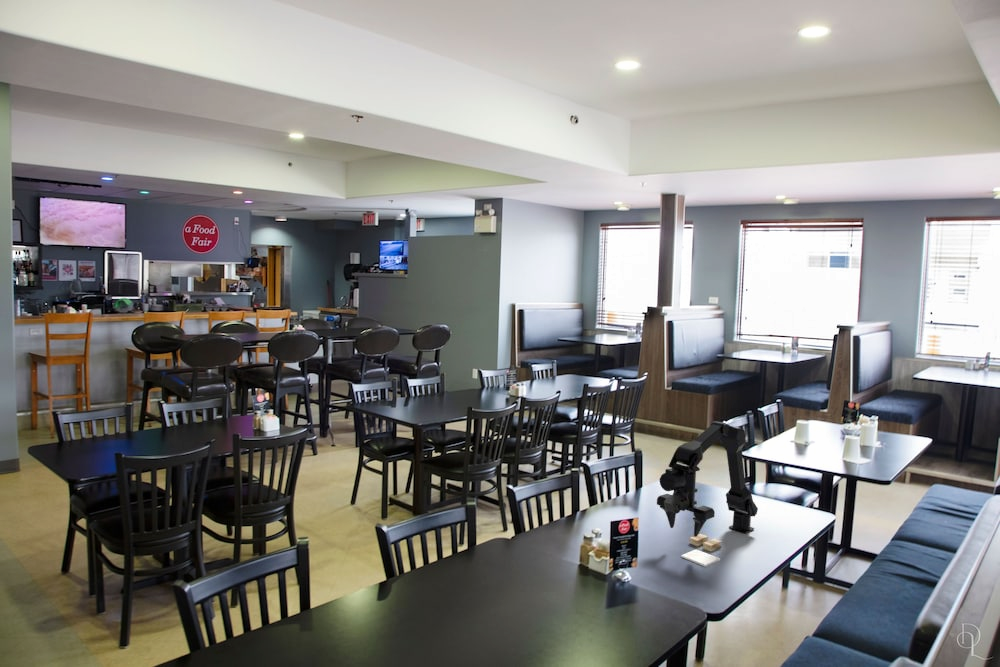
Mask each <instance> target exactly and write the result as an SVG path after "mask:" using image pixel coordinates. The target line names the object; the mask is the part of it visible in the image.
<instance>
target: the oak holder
mask: <svg viewBox="0 0 1000 667" xmlns="http://www.w3.org/2000/svg"><path fill="white" fill-rule="evenodd" d="M708 538H709V536H708V535H705V534H702V533H699V534H698V536H697V537H694V535H693V536H691V537H689V544H690V545H693V546H695V547H699V546H701V545H702V549H703V550H706V551H709V552H713V551H716V550H718V549H720V548H721V547H722V540H719V539H716V538H711V539H709V540H708Z"/></svg>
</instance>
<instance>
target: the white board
mask: <svg viewBox="0 0 1000 667" xmlns="http://www.w3.org/2000/svg"><path fill="white" fill-rule="evenodd" d="M680 558H683V559H685V560H688V561H689V562H692V563H695V564H697V565H700V566H703V567H704V568H706V567H708V566H711V565H713V564H715V563H718V562H720V561H721V558H719V557H718V556H715V555H712V554H709V553H707V552H704V551H701V550H699V549H693V550H691V551H689V552H685V553H684V554H681V555H680Z"/></svg>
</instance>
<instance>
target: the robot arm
mask: <svg viewBox="0 0 1000 667" xmlns="http://www.w3.org/2000/svg"><path fill="white" fill-rule="evenodd" d="M746 436H747V435H746V432H745V429H743V428H742V427H740V426H739V427H738V426H733V425H729V424H727V423H725V422H721V421H717V420H716V421H712V422H711V423H710V425H709V427H707V428H706V429H705V430H704V431H703V432H701V434H700V435H699V434H698V436H697V437H696V438H695V439H693V440H692V441H689V442H688V441H687V442H685V443H682V444H681V445H678V447H677V448H676V450H675V451H674V453H673V456H672V458H671V460H670V462H669V463H668V468H665V472H664V473H662V474H661V475H660V478H659V485H660V486H661V488H662V490H664V491H665V492H670V491H673V493H672V494H671V493H664V494H661V495H658V496H657V499H656V505H657V506H659V508H660V509H662V510H663V511H664V512H665V515H666V517H667V520H668V524H669V527H670V528H671V529H673V528H674V527H675V524H676V523H675V521H676V515H677V514H679V513H680V512H681V511H682V512H684V511H687V512H688V511H689V512H691V513H693V516H694V517H692V520H693V522H694V527H693V536H694V537H697V536H698V534H700V532H701V530H702V527H703V526H704V525H705V523H706V522H707V521H708V520H711V519H712V518H715V510H714V509H713V507H709V506H706V505H700V506H696V505H697V501H698V500H696V499H695V497H696V493H698V488H696V480H697V479H696V477H697V472H699V471H700V470H701V469H700V467H698V465H700V463H701V461H703V459H704V453H705V452H706V451H707V450H708V449H710V447H712V446H713V445H714V444H715V443H716V442H717V441H718V440H719V441H720V444H721V446H722V447H723V448H724V450H725V451H726V458H727V466H728V474H729V482H730V488H729V490H728V491H727V492H726V493H725V497H726V501H725V502H726V504H727V508H728V509H727V510H728V511H731V512H733V519H732V525H730V526H728V528H729V529H730V528H731V530H733V529H734V531H736V530H738V531H737V532H739V531H740V533H742V532H743V534H747V533H750V532H752V531H754V530H755V528H754V527H752V526H751V524H752V523H751V521H752V520H751V519H752V517H756V515H757V514H758V510H759V508H758V506H757V505H756V503H755V502H754V499H753V496H752V495H753V494H752V492H751V491H750V490H749V488H748V487H747V486H746V480H745V479H746V478H745V471H744V469H745V468H744V460H743V453H742V449H743V447H744V446H745V444H746ZM753 529H754V530H753ZM751 530H752V531H751ZM749 531H750V532H749ZM746 532H747V533H746Z"/></svg>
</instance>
